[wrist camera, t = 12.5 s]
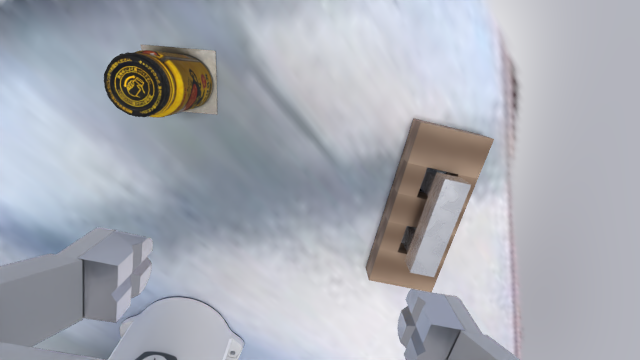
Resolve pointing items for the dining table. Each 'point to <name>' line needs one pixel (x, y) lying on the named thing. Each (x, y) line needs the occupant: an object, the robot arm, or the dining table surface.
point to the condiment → (163, 81)
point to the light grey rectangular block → (434, 221)
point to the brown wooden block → (422, 196)
